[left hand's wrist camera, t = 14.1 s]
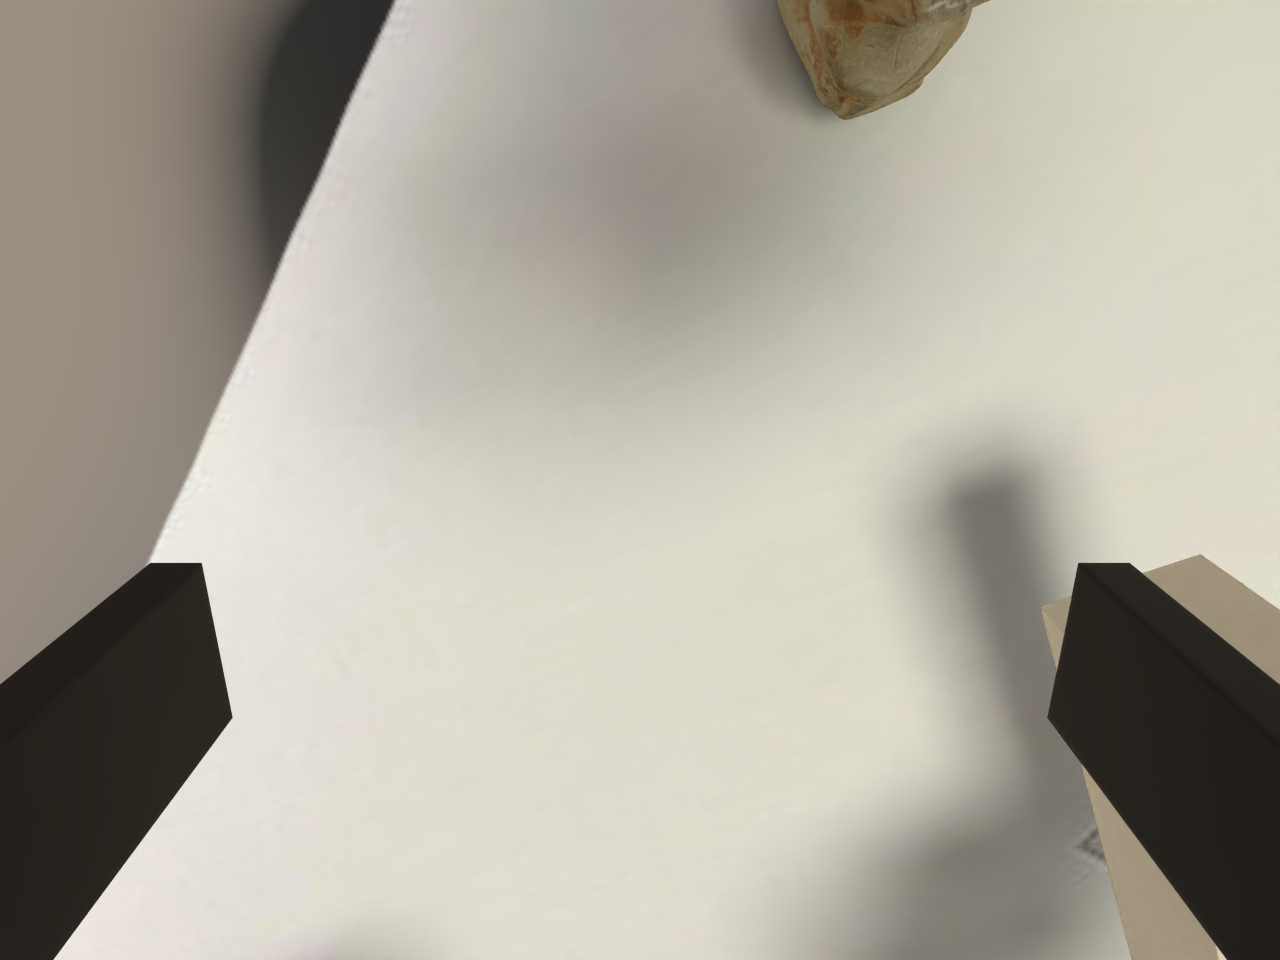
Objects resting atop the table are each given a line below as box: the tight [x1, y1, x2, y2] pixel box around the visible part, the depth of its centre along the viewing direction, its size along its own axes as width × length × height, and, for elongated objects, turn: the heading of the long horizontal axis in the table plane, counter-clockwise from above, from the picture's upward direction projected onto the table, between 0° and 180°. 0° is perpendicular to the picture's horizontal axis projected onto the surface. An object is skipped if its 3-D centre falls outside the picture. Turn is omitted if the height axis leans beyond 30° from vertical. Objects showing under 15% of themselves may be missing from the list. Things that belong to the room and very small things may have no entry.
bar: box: [1040, 555, 1280, 960], centre depth 31 cm, size 25×6×9 cm, turn 22°
